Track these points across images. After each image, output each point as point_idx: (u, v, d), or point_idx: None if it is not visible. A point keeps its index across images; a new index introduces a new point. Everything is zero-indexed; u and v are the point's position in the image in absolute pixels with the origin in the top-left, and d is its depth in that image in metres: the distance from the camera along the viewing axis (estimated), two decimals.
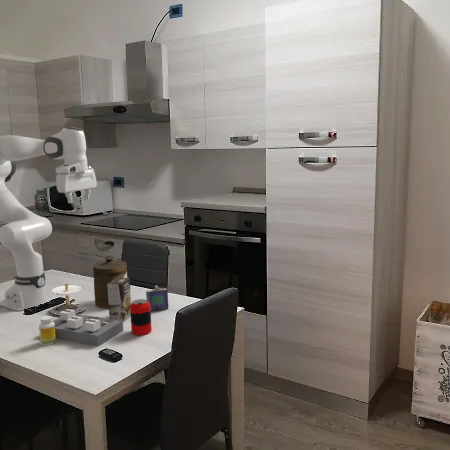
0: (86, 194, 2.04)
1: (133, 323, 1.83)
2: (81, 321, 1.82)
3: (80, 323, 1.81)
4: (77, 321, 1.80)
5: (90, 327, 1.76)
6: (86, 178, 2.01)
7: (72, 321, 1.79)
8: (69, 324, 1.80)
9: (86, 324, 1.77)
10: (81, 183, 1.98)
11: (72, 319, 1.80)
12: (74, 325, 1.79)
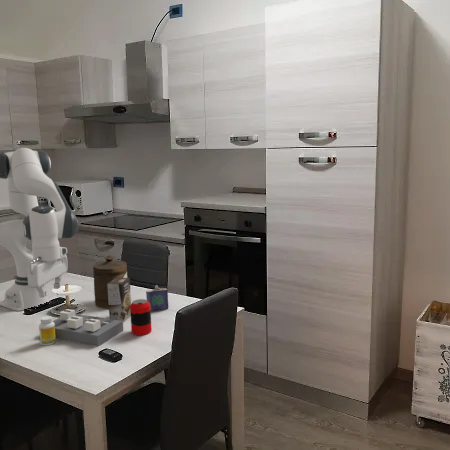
0: None
1: (133, 323, 1.83)
2: (81, 321, 1.82)
3: (80, 323, 1.81)
4: (77, 321, 1.80)
5: (90, 327, 1.76)
6: None
7: (72, 321, 1.79)
8: (69, 324, 1.80)
9: (86, 324, 1.77)
10: None
11: (72, 319, 1.80)
12: (74, 325, 1.79)
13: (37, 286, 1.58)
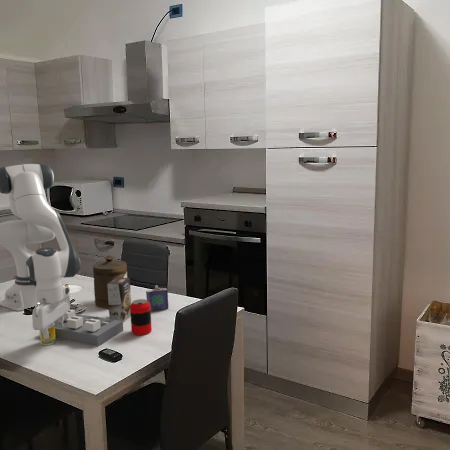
0: None
1: (133, 323, 1.83)
2: (81, 321, 1.82)
3: (80, 323, 1.81)
4: (77, 321, 1.80)
5: (90, 327, 1.76)
6: None
7: (72, 321, 1.79)
8: (69, 324, 1.80)
9: (86, 324, 1.77)
10: None
11: (72, 319, 1.80)
12: (74, 325, 1.79)
13: (42, 328, 1.61)
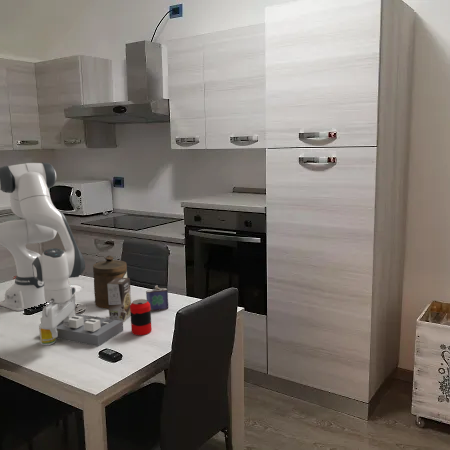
0: None
1: (133, 323, 1.83)
2: (82, 321, 1.82)
3: (81, 323, 1.82)
4: (78, 321, 1.80)
5: (90, 327, 1.76)
6: None
7: (73, 321, 1.80)
8: (70, 324, 1.80)
9: (86, 324, 1.77)
10: None
11: (73, 319, 1.80)
12: (75, 325, 1.79)
13: (52, 328, 1.65)
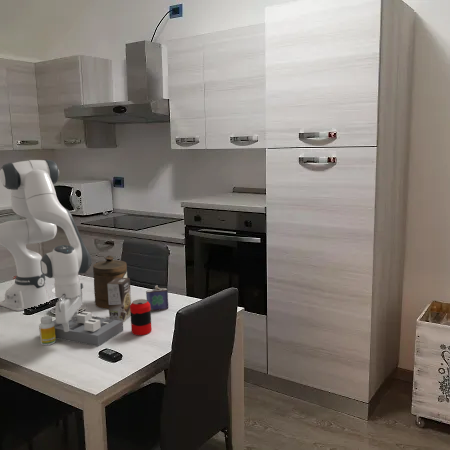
0: None
1: (133, 323, 1.83)
2: (90, 316, 1.86)
3: (89, 318, 1.86)
4: (86, 316, 1.84)
5: (90, 327, 1.76)
6: None
7: (81, 316, 1.84)
8: (78, 319, 1.85)
9: (86, 324, 1.77)
10: None
11: (81, 314, 1.85)
12: (83, 320, 1.84)
13: (65, 322, 1.69)
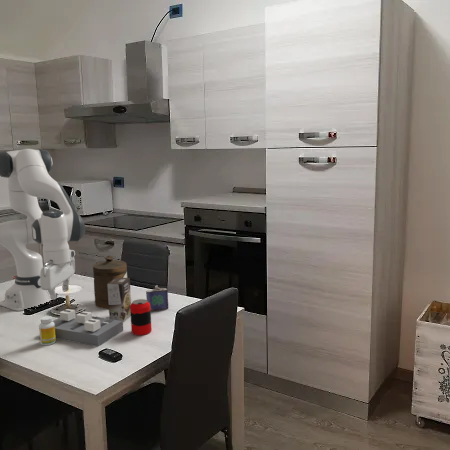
0: None
1: (133, 323, 1.83)
2: (90, 316, 1.86)
3: (89, 318, 1.86)
4: (86, 316, 1.84)
5: (90, 327, 1.76)
6: None
7: (81, 316, 1.84)
8: (78, 319, 1.85)
9: (86, 324, 1.77)
10: None
11: (81, 314, 1.85)
12: (83, 320, 1.84)
13: (50, 288, 1.63)
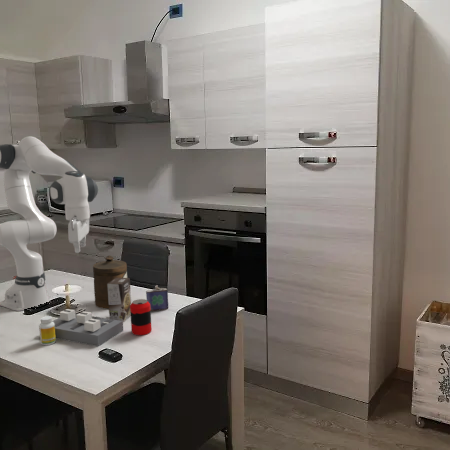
0: None
1: (133, 323, 1.83)
2: (90, 316, 1.86)
3: (89, 318, 1.86)
4: (86, 316, 1.84)
5: (90, 327, 1.76)
6: None
7: (81, 316, 1.84)
8: (78, 319, 1.85)
9: (86, 324, 1.77)
10: None
11: (81, 314, 1.85)
12: (83, 320, 1.84)
13: (77, 241, 1.78)
